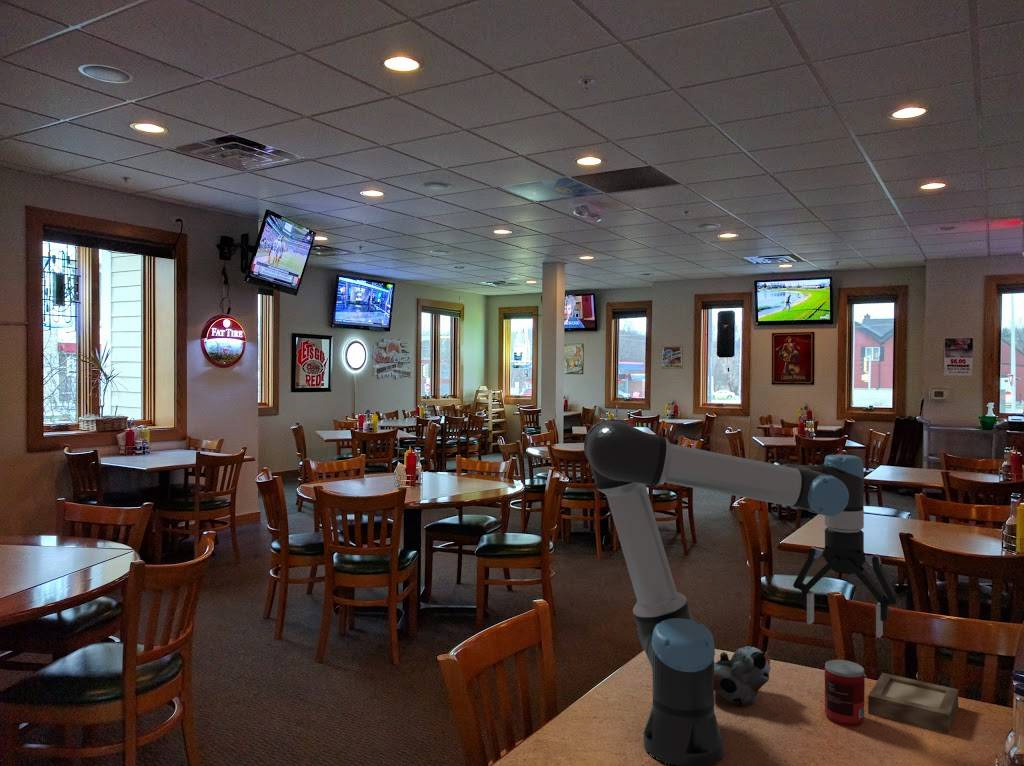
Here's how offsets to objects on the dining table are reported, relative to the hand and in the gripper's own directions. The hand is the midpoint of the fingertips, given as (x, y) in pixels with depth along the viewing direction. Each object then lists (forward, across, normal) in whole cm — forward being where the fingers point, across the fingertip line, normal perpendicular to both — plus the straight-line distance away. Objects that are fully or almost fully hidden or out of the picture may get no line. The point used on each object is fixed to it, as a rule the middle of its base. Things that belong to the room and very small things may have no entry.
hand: (844, 629), depth 156 cm
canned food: (+19, 0, 0) cm, 19 cm away
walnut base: (+19, -11, -13) cm, 25 cm away
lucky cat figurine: (+19, +22, +3) cm, 29 cm away
